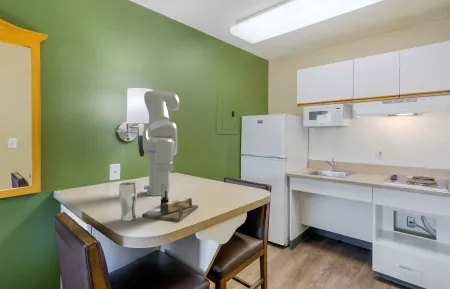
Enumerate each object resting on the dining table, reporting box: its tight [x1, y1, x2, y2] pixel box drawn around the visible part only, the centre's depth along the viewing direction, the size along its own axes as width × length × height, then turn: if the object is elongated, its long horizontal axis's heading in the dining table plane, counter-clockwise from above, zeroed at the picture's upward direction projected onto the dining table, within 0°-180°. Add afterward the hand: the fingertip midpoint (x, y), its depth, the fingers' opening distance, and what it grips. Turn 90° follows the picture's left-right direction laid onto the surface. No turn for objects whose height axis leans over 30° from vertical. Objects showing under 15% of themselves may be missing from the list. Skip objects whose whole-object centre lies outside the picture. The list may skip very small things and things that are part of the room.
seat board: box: [141, 197, 199, 222], centre depth 111 cm, size 18×19×5 cm
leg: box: [159, 197, 189, 214], centre depth 109 cm, size 14×3×4 cm, turn 137°
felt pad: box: [145, 208, 163, 216], centre depth 108 cm, size 9×9×1 cm
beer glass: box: [118, 181, 138, 222], centre depth 102 cm, size 7×7×15 cm
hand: (164, 207), depth 109 cm, fingers closed
